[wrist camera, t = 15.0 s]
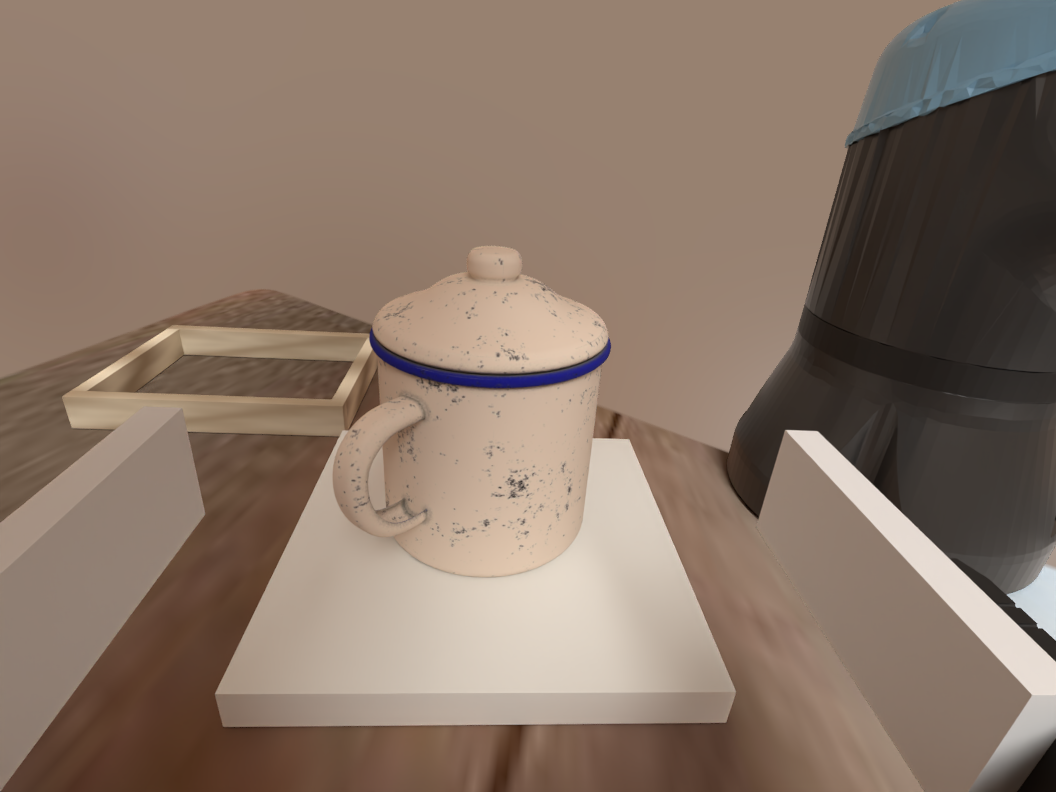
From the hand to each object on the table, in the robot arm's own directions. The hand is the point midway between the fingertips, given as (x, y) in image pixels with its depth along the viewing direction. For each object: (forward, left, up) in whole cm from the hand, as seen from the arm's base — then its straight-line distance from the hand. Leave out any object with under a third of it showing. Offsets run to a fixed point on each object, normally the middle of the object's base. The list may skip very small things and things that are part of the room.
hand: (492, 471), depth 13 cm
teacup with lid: (+9, +1, -9) cm, 13 cm away
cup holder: (+25, +16, -10) cm, 31 cm away
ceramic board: (+9, 0, -10) cm, 14 cm away
